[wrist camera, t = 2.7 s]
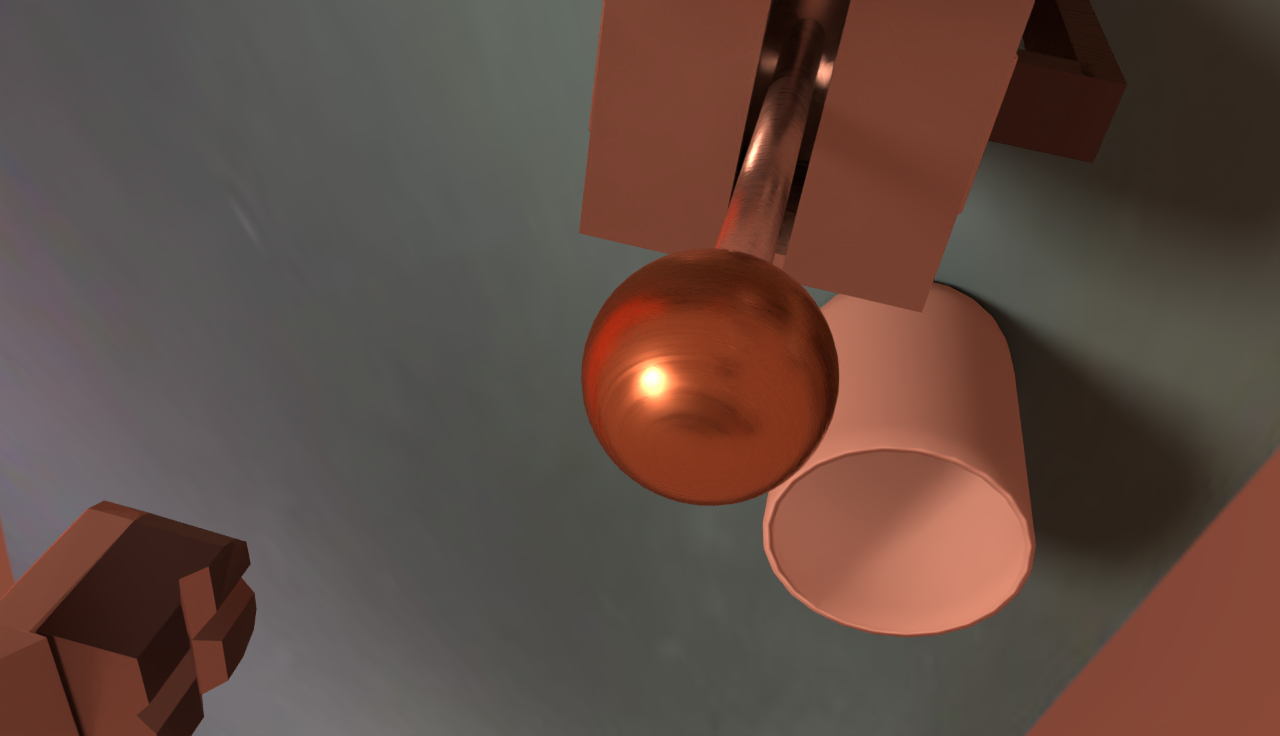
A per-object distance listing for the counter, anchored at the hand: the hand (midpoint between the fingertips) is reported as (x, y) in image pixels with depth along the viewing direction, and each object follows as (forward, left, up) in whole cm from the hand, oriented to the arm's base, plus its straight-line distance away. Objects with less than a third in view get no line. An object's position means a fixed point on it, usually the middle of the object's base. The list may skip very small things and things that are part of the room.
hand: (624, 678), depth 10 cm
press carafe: (0, +2, -33) cm, 33 cm away
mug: (+18, +7, -33) cm, 38 cm away
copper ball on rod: (0, 0, -21) cm, 21 cm away
